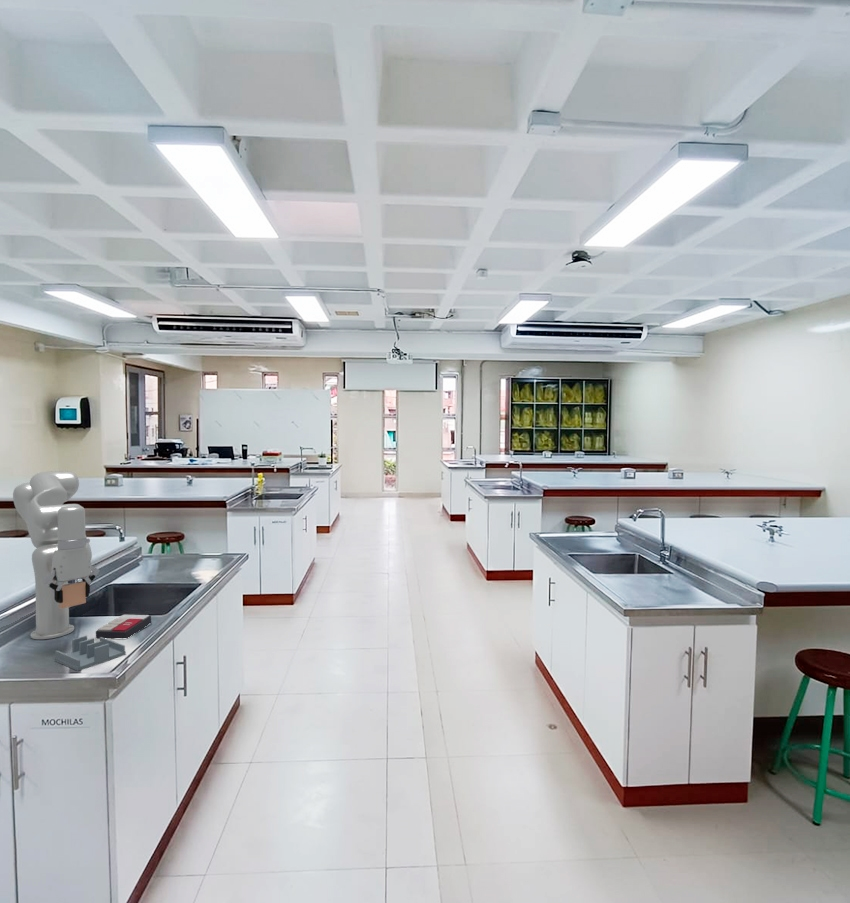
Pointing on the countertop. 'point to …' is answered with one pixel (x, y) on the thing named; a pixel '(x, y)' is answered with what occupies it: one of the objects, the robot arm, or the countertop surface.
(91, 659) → the rack
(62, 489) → the robot arm
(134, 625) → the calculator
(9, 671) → the countertop surface
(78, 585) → the tile
